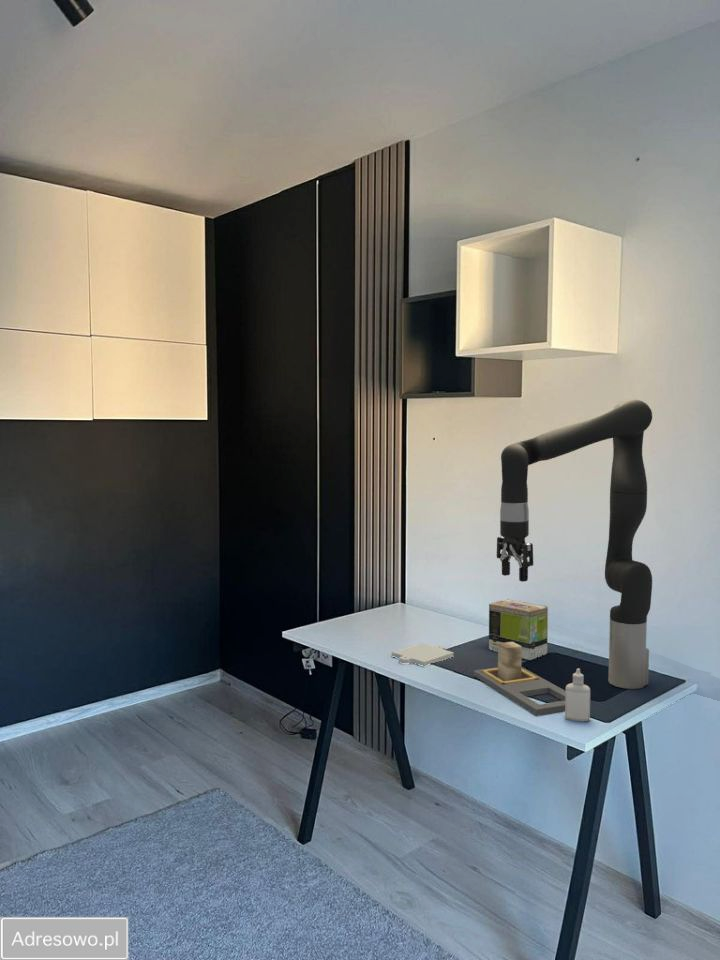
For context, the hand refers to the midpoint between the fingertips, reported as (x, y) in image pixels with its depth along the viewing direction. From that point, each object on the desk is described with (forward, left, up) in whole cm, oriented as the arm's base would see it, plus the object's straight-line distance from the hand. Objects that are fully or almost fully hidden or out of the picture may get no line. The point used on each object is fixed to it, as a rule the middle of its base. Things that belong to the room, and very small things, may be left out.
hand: (514, 578), depth 202 cm
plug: (+3, +2, -28) cm, 28 cm away
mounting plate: (+16, -25, -28) cm, 41 cm away
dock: (+3, +10, -28) cm, 29 cm away
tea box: (-13, -19, -28) cm, 36 cm away
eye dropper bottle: (+2, +30, -28) cm, 41 cm away
